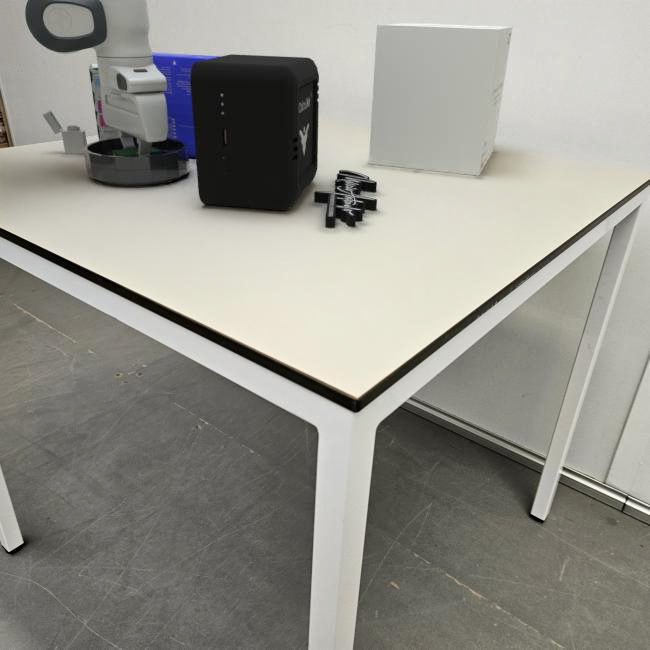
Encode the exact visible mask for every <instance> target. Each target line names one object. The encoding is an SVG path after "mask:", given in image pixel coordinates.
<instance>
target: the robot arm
mask: <svg viewBox="0 0 650 650" xmlns="http://www.w3.org/2000/svg"><path fill="white" fill-rule="evenodd" d="M24 9H25V10H24V14H25V16H24V17H25V22H26V25H27V28H28V30H29V32H30V34H31V35H32V37H33V38H34V39H35V40H36V42H37V43H38V44H40V45H41V46H42V47H44V48H46V49H47V50H49V51H51V52H54V53H57V54H62V55H71V54H75V53H78V52H81V51H83V50H87V49H93V50H94V51H95V56H96V64H98V71H99V78H100V85H101V105H102V114H103V119H104V122H105V124H106V125H108V126H110V127H113V128H115V129H117V130H118V132H119V137H120V139H121V142H122V145H123V147H124V149H131V148H136V146H134V142H133V138H132V136H134V137H136V138H137V143H138V144H139V146H138V152H137V156H150V151H151V146H152V142H158V141H164V140H166V138H167V135H168V115H167V104H166V98H165V95H164V93H163V92H162V91H166V90H167V81H166V78H165V76H164V75H163V74H162V73H161V72H160V71H159V70H158V69H157V68H156V66H155V64H154V63H153V54H152V53H153V51H152V48H151V45H150V40H149V33H150V29H151V28H150V16H149V8H148V2H147V0H27V1H26V5H25V8H24Z"/></svg>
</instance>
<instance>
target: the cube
mask: <svg viewBox="0 0 650 650" xmlns="http://www.w3.org/2000/svg"><path fill="white" fill-rule="evenodd" d="M512 32H513V26H508V25H507V26H505V25H476V24H475V25H474V24H472V25H471V24H449V23H420V22H419V23H418V22H417V23H416V22H403V23H389V24H388V23H387V24H385V23H383V24H376V34H375V35H376V36H375V51H374V68H373V87H372V100H371V101H372V104H371V121H370V135H369V136H370V137H369V139H370V140H369V154H368V155H369V156H368V164H369V165H375V166H384V167H393V168H402V169H403V168H404V169H413V170H423V171H430V172H431V171H432V172H441V173H451V174H458V175H459V174H460V175H469V176H480V174H481V173H482V171H483V169H484V168H485V166H486V165H487V163H488V161H489V159H490V158H491V156H492V154H493V153H494V150H495V143H496V137H497V130H498V122H499V118H500V110H501V105H502V98H503V91H504V85H505V78H506V71H507V64H508V60H509V51H510V46H511V38H512Z"/></svg>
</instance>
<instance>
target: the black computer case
mask: <svg viewBox="0 0 650 650" xmlns="http://www.w3.org/2000/svg"><path fill="white" fill-rule="evenodd" d="M220 56H221V57H216V58H211V59H206V60H201V61H196V62H195V63H194V64H193V66H192V69H191V75H190V83H191V96H192V110H193V124H194V137H195V151H196V158H195V162H196V176H197V177H196V178H197V190H198V198H199V200H200V202H201V203H202V204H203V205H213V206H225V207H234V208H235V207H236V208H247V209H248V208H249V209H260V210H273V211H288V210H289V209H291V208H292V207H293V206H294V204H296V202H297V201H298V200H299V198H300V197H301V195H303V193H305V191H306V190H307V188H309V186H310V185H311V183H312V182H313V180H314V179H315V178H316V175H317V171H318V167H319V163H318V161H319V155H318V153H319V107H320V106H319V105H320V104H319V103H320V102H319V101H318V100H319V98H320V97H319V95H320V93H318V92H319V90H320V86H319V83H320V74H319V69H318V66H317V64H316V62H315V61H314V60H313V59H312V58H310V57H306V56H305V57H304V56H303V57H302V56H281V55H280V56H279V55H258V54H257V55H256V54H255V55H253V54H234V53H233V54H232V53H231V54H226V55H220Z"/></svg>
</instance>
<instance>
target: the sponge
mask: <svg viewBox="0 0 650 650" xmlns="http://www.w3.org/2000/svg"><path fill="white" fill-rule="evenodd" d="M112 152H113V156H137V152H138V148H131V149H122V150H113V151H112ZM159 154H161V151H160V150H157V149H155V148H153V147H151V151H150V155H159Z"/></svg>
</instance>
